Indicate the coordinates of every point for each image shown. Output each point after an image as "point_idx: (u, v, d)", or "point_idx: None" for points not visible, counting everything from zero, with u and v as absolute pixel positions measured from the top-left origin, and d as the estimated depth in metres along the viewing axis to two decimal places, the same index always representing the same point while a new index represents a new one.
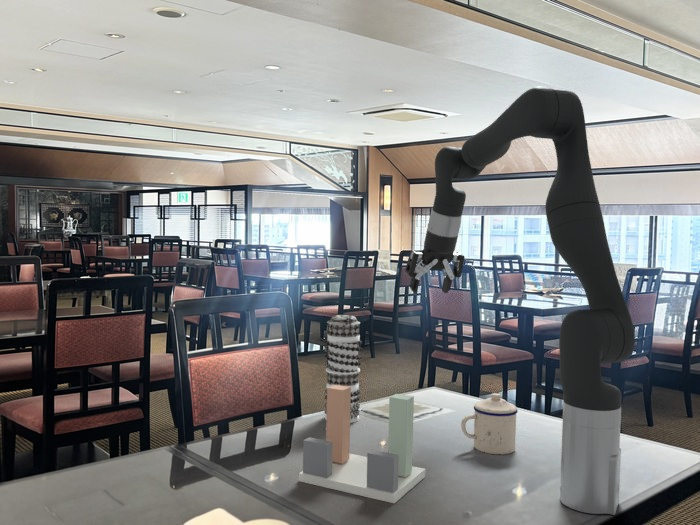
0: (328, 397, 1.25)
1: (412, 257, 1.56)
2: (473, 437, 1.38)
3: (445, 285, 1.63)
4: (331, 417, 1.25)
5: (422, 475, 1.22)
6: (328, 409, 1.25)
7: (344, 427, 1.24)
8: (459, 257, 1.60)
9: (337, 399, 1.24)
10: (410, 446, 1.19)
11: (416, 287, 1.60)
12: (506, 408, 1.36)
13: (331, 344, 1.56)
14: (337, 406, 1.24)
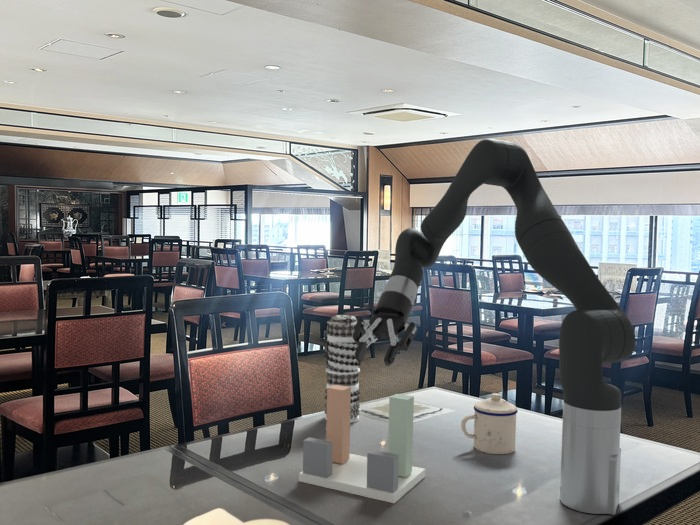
0: (328, 397, 1.25)
1: None
2: (473, 437, 1.38)
3: None
4: (331, 417, 1.25)
5: (422, 475, 1.22)
6: (328, 409, 1.25)
7: (344, 427, 1.24)
8: None
9: (337, 399, 1.24)
10: (410, 446, 1.19)
11: (358, 351, 1.39)
12: (506, 408, 1.36)
13: (331, 344, 1.56)
14: (337, 406, 1.24)
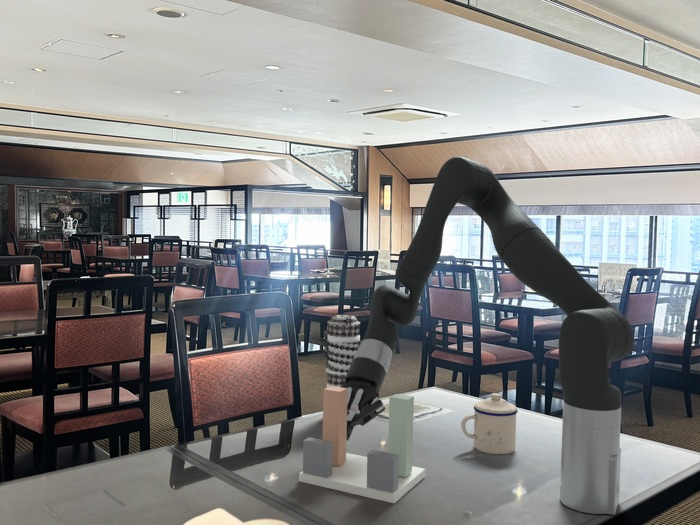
0: (324, 399, 1.24)
1: None
2: (473, 437, 1.38)
3: None
4: (327, 419, 1.23)
5: (422, 475, 1.22)
6: (324, 411, 1.24)
7: (340, 429, 1.23)
8: None
9: (333, 401, 1.23)
10: (410, 446, 1.19)
11: None
12: (506, 408, 1.36)
13: (331, 344, 1.56)
14: (333, 407, 1.23)
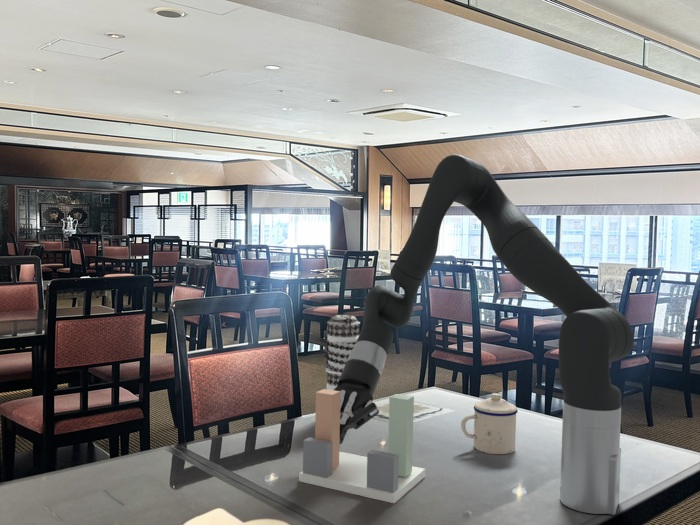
0: (317, 402, 1.21)
1: None
2: (473, 437, 1.38)
3: None
4: (320, 422, 1.21)
5: (422, 475, 1.22)
6: (316, 415, 1.21)
7: (333, 432, 1.20)
8: None
9: (326, 404, 1.20)
10: (410, 446, 1.19)
11: None
12: (506, 408, 1.36)
13: (331, 344, 1.56)
14: (326, 411, 1.20)
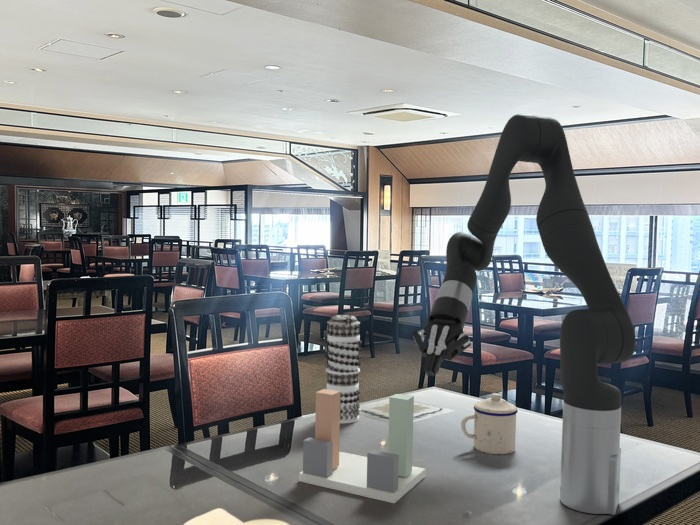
0: (317, 402, 1.21)
1: None
2: (473, 437, 1.38)
3: None
4: (320, 422, 1.21)
5: (422, 475, 1.22)
6: (316, 415, 1.21)
7: (333, 432, 1.20)
8: None
9: (326, 404, 1.20)
10: (410, 446, 1.19)
11: (428, 363, 1.31)
12: (506, 408, 1.36)
13: (331, 344, 1.56)
14: (326, 411, 1.20)
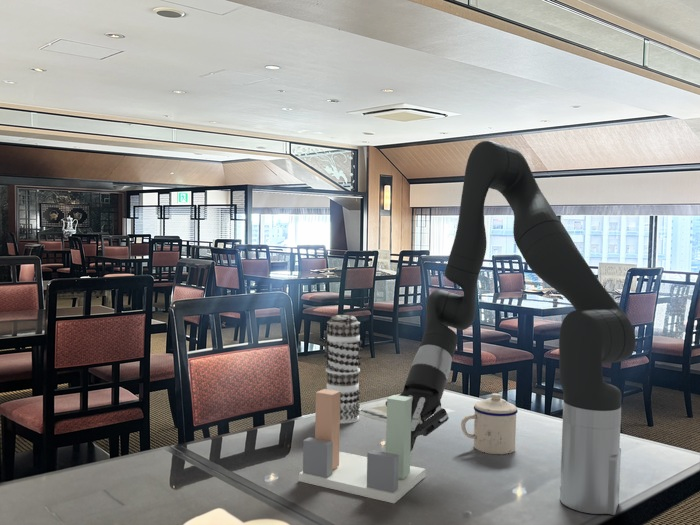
0: (317, 402, 1.21)
1: None
2: (473, 437, 1.38)
3: None
4: (320, 422, 1.21)
5: (422, 475, 1.22)
6: (316, 415, 1.21)
7: (333, 432, 1.20)
8: None
9: (326, 404, 1.20)
10: (408, 448, 1.18)
11: None
12: (506, 408, 1.36)
13: (331, 344, 1.56)
14: (326, 411, 1.20)
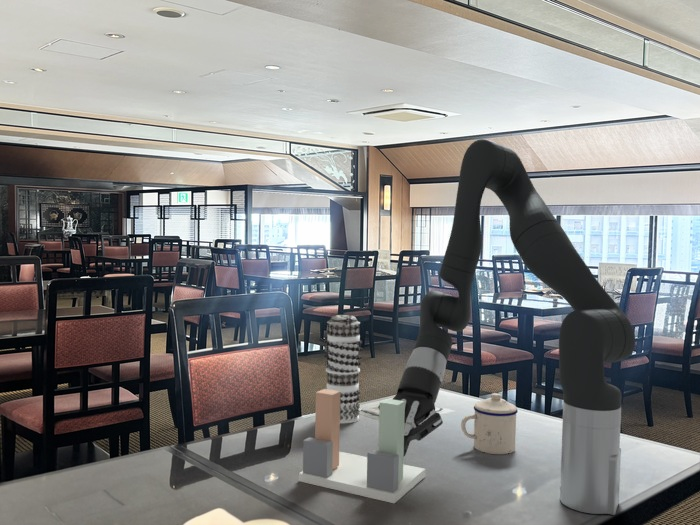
0: (317, 402, 1.21)
1: None
2: (473, 437, 1.38)
3: None
4: (320, 422, 1.21)
5: (422, 475, 1.22)
6: (316, 415, 1.21)
7: (333, 432, 1.20)
8: None
9: (326, 404, 1.20)
10: (401, 453, 1.15)
11: None
12: (506, 408, 1.36)
13: (331, 344, 1.56)
14: (326, 411, 1.20)
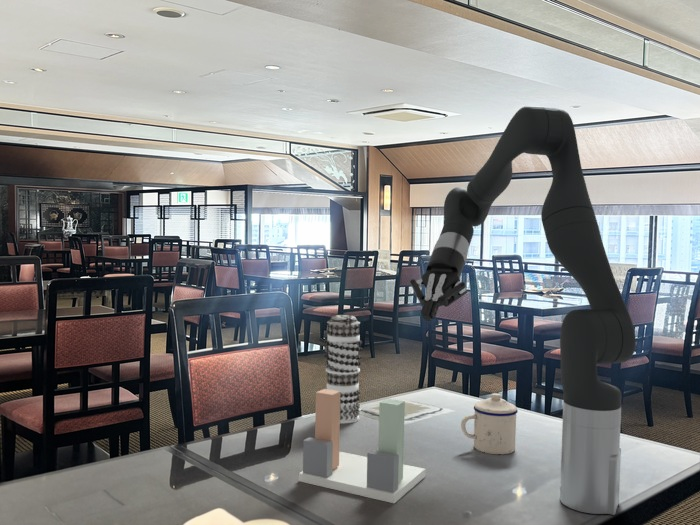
0: (317, 402, 1.21)
1: None
2: (473, 437, 1.38)
3: None
4: (320, 422, 1.21)
5: (422, 475, 1.22)
6: (316, 415, 1.21)
7: (333, 432, 1.20)
8: None
9: (326, 404, 1.20)
10: (401, 453, 1.15)
11: (425, 309, 1.36)
12: (506, 408, 1.36)
13: (331, 344, 1.56)
14: (326, 411, 1.20)
